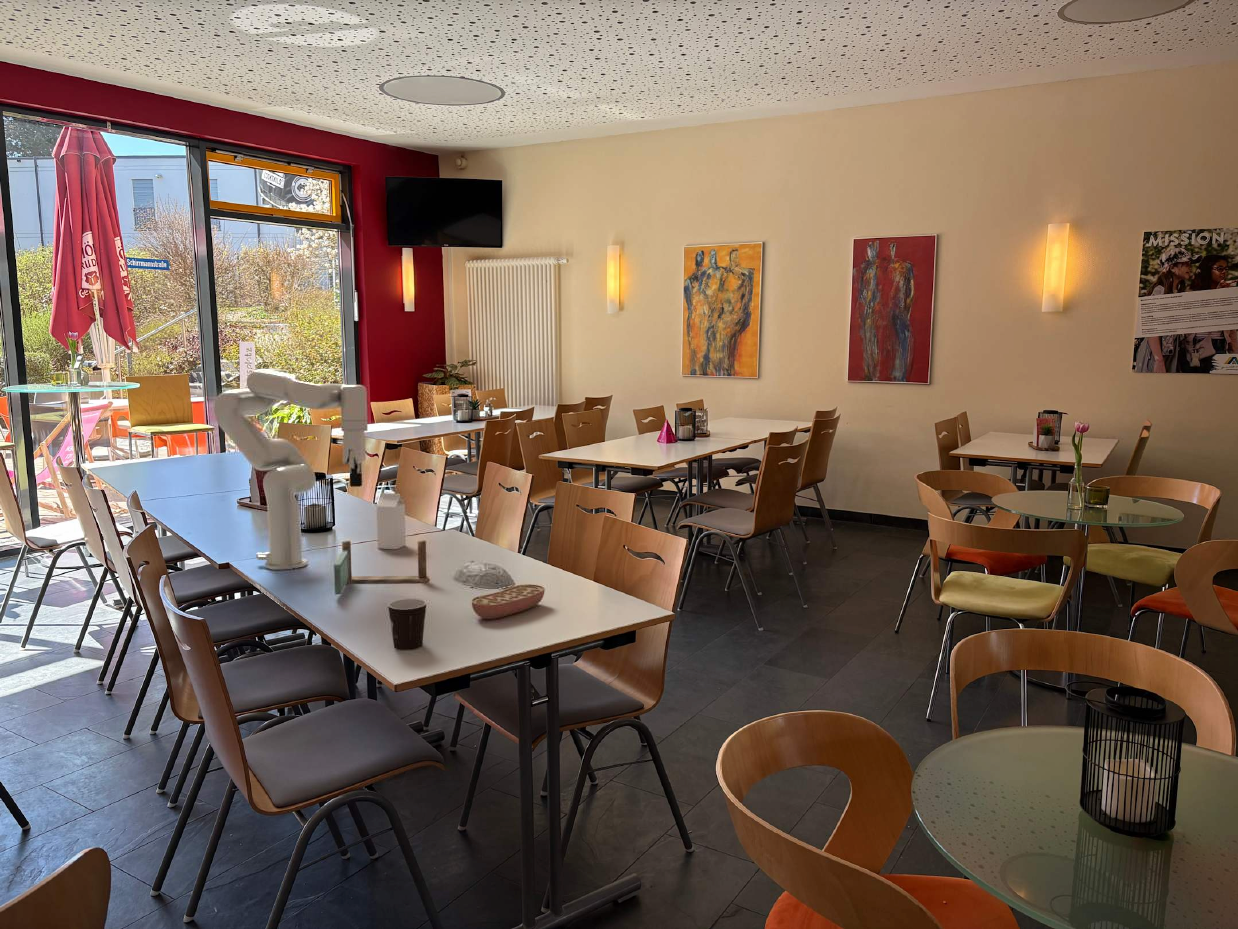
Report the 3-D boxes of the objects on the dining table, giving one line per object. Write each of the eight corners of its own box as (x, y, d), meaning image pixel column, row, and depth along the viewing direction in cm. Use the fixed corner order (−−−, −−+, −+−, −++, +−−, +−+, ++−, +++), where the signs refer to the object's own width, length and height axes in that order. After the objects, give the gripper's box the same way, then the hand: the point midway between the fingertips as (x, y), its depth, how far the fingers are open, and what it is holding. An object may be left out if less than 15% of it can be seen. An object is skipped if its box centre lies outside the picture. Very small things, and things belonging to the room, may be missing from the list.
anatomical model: (527, 600, 240) (527, 582, 239) (553, 606, 233) (553, 588, 233) (464, 619, 222) (464, 600, 221) (491, 627, 216) (490, 607, 215)
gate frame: (340, 583, 255) (339, 543, 253) (344, 579, 259) (342, 540, 257) (426, 582, 256) (425, 542, 255) (428, 579, 260) (427, 539, 259)
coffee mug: (396, 639, 205) (395, 598, 204) (432, 640, 205) (431, 599, 203) (378, 655, 194) (377, 612, 193) (416, 657, 193) (415, 613, 192)
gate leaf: (344, 577, 255) (343, 549, 254) (349, 577, 256) (348, 549, 255) (334, 594, 237) (333, 564, 236) (340, 594, 237) (339, 564, 236)
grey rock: (485, 592, 245) (486, 569, 245) (438, 580, 263) (438, 558, 263) (529, 588, 256) (530, 565, 256) (480, 576, 274) (481, 555, 274)
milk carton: (396, 549, 298) (395, 495, 296) (377, 548, 300) (376, 494, 297) (405, 545, 305) (404, 492, 303) (387, 544, 307) (385, 491, 304)
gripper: (347, 423, 268) (349, 482, 271) (335, 428, 253) (337, 490, 256) (372, 424, 269) (374, 482, 271) (361, 428, 254) (363, 490, 256)
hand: (356, 486), depth 263 cm, fingers closed
